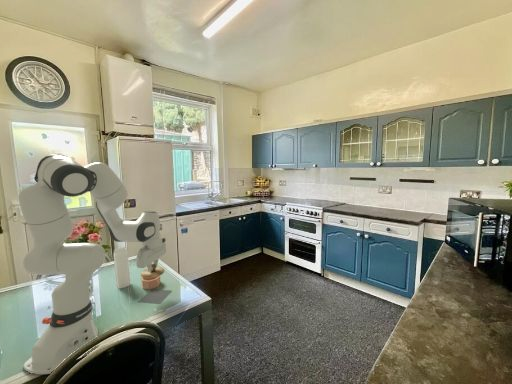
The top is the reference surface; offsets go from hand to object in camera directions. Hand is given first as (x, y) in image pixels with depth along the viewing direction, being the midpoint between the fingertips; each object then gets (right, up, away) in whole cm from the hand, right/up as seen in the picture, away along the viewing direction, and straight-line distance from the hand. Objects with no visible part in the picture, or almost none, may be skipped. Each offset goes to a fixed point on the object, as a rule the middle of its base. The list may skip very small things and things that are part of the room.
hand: (152, 269), depth 120 cm
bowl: (-7, -14, +14) cm, 20 cm away
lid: (0, -2, 0) cm, 2 cm away
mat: (0, -15, +2) cm, 15 cm away
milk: (-23, -14, +14) cm, 30 cm away
